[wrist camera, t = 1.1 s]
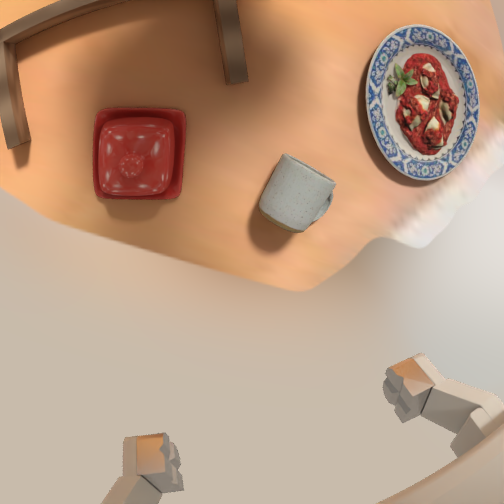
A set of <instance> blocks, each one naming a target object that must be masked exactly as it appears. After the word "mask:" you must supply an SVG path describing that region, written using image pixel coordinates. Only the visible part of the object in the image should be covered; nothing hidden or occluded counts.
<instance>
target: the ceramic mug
mask: <svg viewBox="0 0 504 504" xmlns="http://www.w3.org/2000/svg"><path fill="white" fill-rule="evenodd" d="M335 185H336V183H335V181H333V180H332V179H330V178H329V177H327V176H326V175H324V174H323V173H321V172H319V171H318V170H316V169H315V168H313V167H311V166H309V165H307V164H306V163H304V162H302V161H300V160H299V159H297V158H295V157H293V156H290V155H288V154H286V153H285V154H283V155H282V156H281V158H280V160H279V162H278V164H277V166H276V168H275V170H274V172H273V174H272V176H271V178H270V180H269V182H268V184H267V186H266V188H265V190H264V191H263V193H262V196H261V198H260V201H259V210H260V212H261V213H262V215H263V216H264V217H266V218H267V219H268V220H269V221H271V222H272V223H274V224H275V225H277V226H279V227H281V228H283V229H285V230H287V231H290V232H294V233H301V232H304V231H305V230H306V229H307V228H308V226H309V225H310V224H311V223H312V222H313V221H316V220H318V219H319V218H320V217H322V216H323V215H324V214H325V212H326V211H327V210H328V208H329V207H330V205H331V202H332V199H333V192H332V191H333V189H334V187H335Z"/></svg>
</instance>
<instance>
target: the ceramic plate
mask: <svg viewBox="0 0 504 504" xmlns="http://www.w3.org/2000/svg"><path fill="white" fill-rule="evenodd" d="M365 99H366V109H367V116H368V121H369V124H370V128H371V131H372V134H373V137H374V139H375V141H376V143H377V145H378V147H379V149H380V151H381V152H382V154H383V155H384V157H385V158H386V159H387V160H388V162H389V163H390V164H391V165H392V166H393V167H394V168H395V169H397V170H398V171H399V172H401V173H402V174H404V175H406V176H408V177H410V178H413V179H416V180H434V179H438V178H441V177H443V176H445V175H447V174H448V173H450V172H451V171H453V170H454V169H455V168H456V167H457V166H458V165H459V164H460V163H461V162H462V161H463V159H464V158H465V156H466V155H467V153H468V152H469V150H470V148H471V146H472V144H473V141H474V138H475V135H476V132H477V128H478V121H479V113H480V105H479V93H478V87H477V83H476V79H475V76H474V73H473V70H472V68H471V66H470V64H469V62H468V60H467V58H466V56H465V55H464V53H463V52H462V50H461V49H460V48H459V47H458V45H457V44H456V43H455V42H454V41H453V40H452V39H451V38H449V37H448V36H447V35H445V34H444V33H443V32H441V31H439V30H437V29H435V28H432V27H429V26H426V25H416V24H414V25H408V26H404V27H401V28H399V29H396V30H395V31H393V32H392V33H390V34H389V35H388V36H387V37H386V38H385V39H384V40H383V41H382V42H381V43H380V45H379V46H378V48H377V50H376V51H375V53H374V55H373V58H372V60H371V63H370V66H369V69H368V74H367V80H366V97H365Z"/></svg>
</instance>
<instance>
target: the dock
mask: <svg viewBox="0 0 504 504" xmlns="http://www.w3.org/2000/svg"><path fill="white" fill-rule="evenodd" d="M126 1H130V0H60V1H57V2H55V3H52V4H50V5H48V6H46V7H43V8H41V9H39V10H37V11H35V12H33V13H30V14H28V15H26V16H24V17H22V18H20V19H18V20H16V21H15V22H13V23H11V24H9V25H7V26H5V27H3V28H2V29H0V117H1V122H2V127H3V131H4V136H5V140H6V144H7V148H8V149H10V148H13V147H15V146H18V145H20V144H22V143H24V142H27V141H29V140H31V136H30V132H29V128H28V123H27V118H26V114H25V109H24V103H23V98H22V92H21V86H20V80H19V73H18V65H17V57H16V48H15V44H16V43H18V42H20V41H22V40H24V39H26V38H28V37H31V36H33V35H35V34H37V33H39V32H41V31H44V30H46V29H48V28H50V27H53V26H55V25H58V24H60V23H63V22H65V21H68V20H70V19H73V18H76V17H78V16H81V15H84V14H87V13H90V12H93V11H96V10H99V9H102V8H105V7H108V6H112V5H115V4H118V3H122V2H126ZM213 2H214V9H215V15H216V22H217V28H218V34H219V41H220V47H221V54H222V60H223V66H224V73H225V79H226V85H229V84H236V83H243V82H248V75H247V68H246V61H245V55H244V48H243V42H242V35H241V29H240V22H239V16H238V10H237V4H236V0H213Z"/></svg>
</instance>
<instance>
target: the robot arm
mask: <svg viewBox="0 0 504 504" xmlns="http://www.w3.org/2000/svg"><path fill="white" fill-rule="evenodd" d="M386 376H387V378H386V379H385V381H384V383H383V391H384V394H385V397H386V399H387V400H388V402H389V403H391V404H393V405H395V413H396V414H397V416H398V417H399V418H400V420H401V422H402V423H404V422H406V421H408V420H410V419H412V418H415V417H417V416H419V415H421V416H422V417H425V418H426V419H428V420H430V421H432V422H434V423H436V424H438V425H440V426H442V427H444V428H446V429H448V430H450V431H452V432H454V433H456V434H457V435H456V437H455V438H454V440H453V441H452V443H451V446H450V447H451V448H452V450H453V451H454V453H455V454H456V456H457V457H458V458H457V459H455V460H454V461H452V462H451V463H449V464H448V465H446V466H445V467H443V468H442V469H440V470H438V471H437V472H435V473H433V474H432V475H430V476H428V477H426V478H425V479H423V480H421V481H420V482H418V483H416V484H414V485H412V486H411V487H408V488H407V489H405V490H403V491H401V492H399V493H397V494H395V495H393V496H391V497H389V498H387V499H385V500H383V501H380V502H379V503H376V504H504V404H503V403H502V401H501V400H500V399H499V398H498V397H497V395H496V394H493V393H490V392H487V391H484V390H481V389H478V388H475V387H472V386H469V385H466V384H464V383H461V382H458V381H455V380H452V379H449V378H448V379H445V378H444V377H443V376H442V375H441V373H440V372H439V371H438V370H437V369H436V368H435V366H434V365H433V364H432V363H431V362H430V361H429V360H428V359H427V357H426V356H425V355H424V354H422V353H419V354H417V355H415V356H413V357H411V358H408V359H406V360H404V361H401V362H399V363H397V364H395V365H393V366H391V367H389V368H388V369H387V370H386ZM180 465H181V464H180V457H179V453H178V450H177V448H176V446H175V445H174V443H172V442H170V441H169V436H168V435H167V434H166V433H158V434H151V435H143V436H133V437H125V439H124V442H123V476H122V477H119V478H118V480H117V481H116V482H115V484H114V485H113V487H112V488H111V490H110V491H109V493H108V494H107V496H106V497H105V499H104V500H103V502H102V503H101V504H158V503H159V501H160V499H161V497H162V493H168V492H176V491H182V490H184V488H183V480H182V475H181V474H180V473H179V471H178V468H179V467H180Z"/></svg>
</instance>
